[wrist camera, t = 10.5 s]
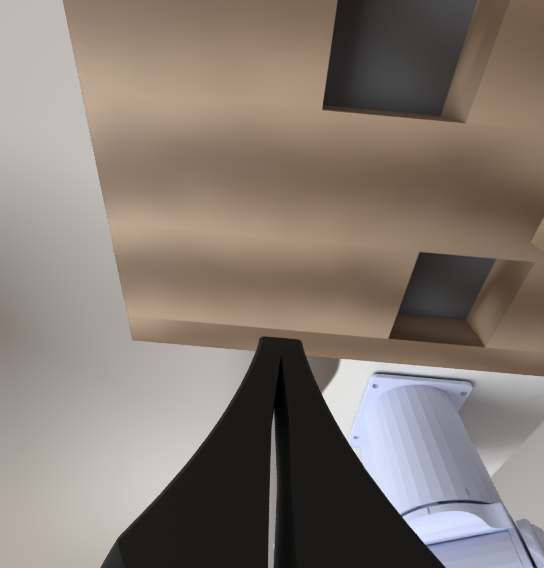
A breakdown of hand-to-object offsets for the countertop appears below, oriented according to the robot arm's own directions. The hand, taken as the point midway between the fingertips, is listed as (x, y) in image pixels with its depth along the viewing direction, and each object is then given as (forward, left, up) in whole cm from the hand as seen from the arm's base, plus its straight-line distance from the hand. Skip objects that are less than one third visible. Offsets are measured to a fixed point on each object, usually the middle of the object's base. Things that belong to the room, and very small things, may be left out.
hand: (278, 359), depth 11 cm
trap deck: (+4, -5, -10) cm, 12 cm away
